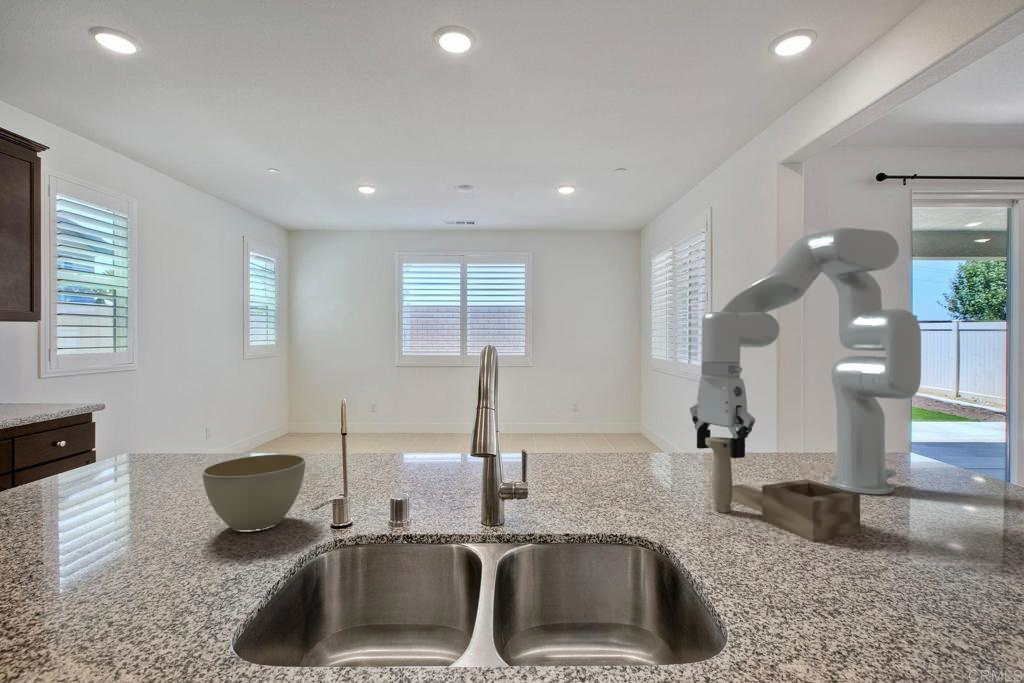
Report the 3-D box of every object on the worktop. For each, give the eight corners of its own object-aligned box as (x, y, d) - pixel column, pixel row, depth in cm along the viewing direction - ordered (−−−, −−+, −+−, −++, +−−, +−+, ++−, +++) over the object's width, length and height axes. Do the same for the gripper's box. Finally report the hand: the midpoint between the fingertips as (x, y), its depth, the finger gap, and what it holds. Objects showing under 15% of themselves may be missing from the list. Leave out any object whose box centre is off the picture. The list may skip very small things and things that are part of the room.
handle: (742, 515, 102) (741, 441, 102) (709, 514, 103) (708, 441, 103) (734, 507, 107) (734, 437, 107) (703, 506, 108) (702, 437, 108)
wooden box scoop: (756, 495, 115) (756, 464, 115) (860, 532, 93) (859, 494, 93) (714, 501, 111) (714, 469, 111) (812, 541, 89) (812, 501, 89)
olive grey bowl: (286, 504, 112) (285, 450, 112) (320, 525, 99) (320, 463, 99) (192, 525, 99) (191, 464, 99) (218, 552, 86) (217, 481, 86)
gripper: (768, 373, 98) (767, 460, 98) (705, 369, 114) (705, 444, 114) (738, 373, 96) (737, 463, 95) (678, 369, 112) (678, 445, 112)
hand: (719, 452), depth 105 cm, fingers open, 9 cm apart
